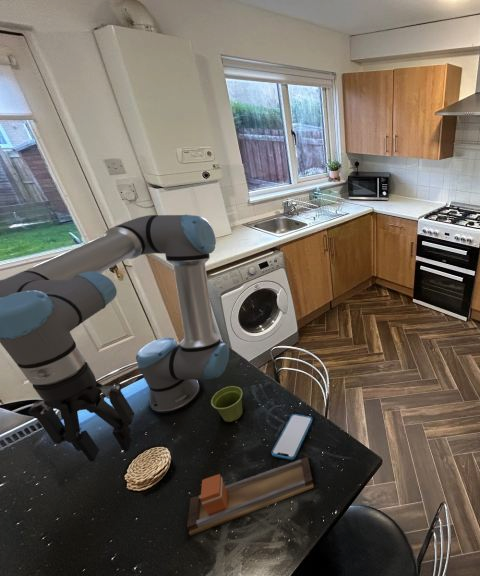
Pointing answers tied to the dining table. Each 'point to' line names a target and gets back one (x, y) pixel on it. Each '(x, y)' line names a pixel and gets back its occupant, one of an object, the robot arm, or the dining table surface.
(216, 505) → the orange block
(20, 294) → the robot arm
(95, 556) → the dining table surface
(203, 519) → the rail
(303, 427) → the smartphone
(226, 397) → the plant pot
